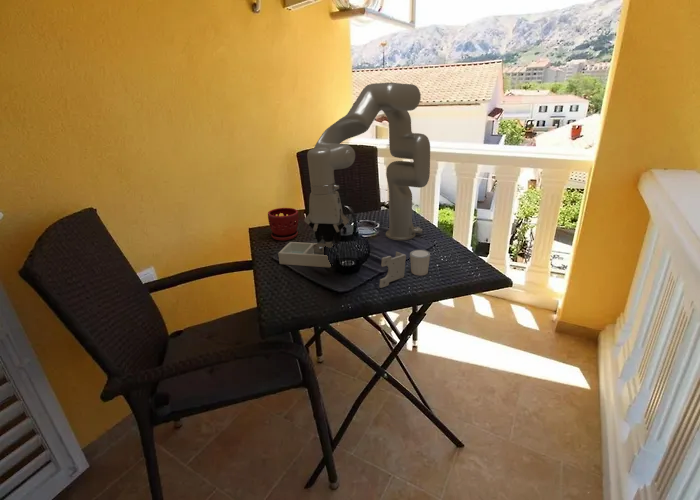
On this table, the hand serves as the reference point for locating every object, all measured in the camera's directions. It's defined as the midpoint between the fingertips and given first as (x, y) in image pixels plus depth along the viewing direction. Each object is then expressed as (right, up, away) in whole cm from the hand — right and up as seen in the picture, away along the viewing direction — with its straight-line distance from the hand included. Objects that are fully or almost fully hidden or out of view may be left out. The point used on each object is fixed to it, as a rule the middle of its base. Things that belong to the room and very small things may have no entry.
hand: (328, 240), depth 125 cm
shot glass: (+31, -11, +4) cm, 33 cm away
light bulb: (0, -3, +1) cm, 3 cm away
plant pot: (-21, +3, +42) cm, 47 cm away
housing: (-8, -7, +18) cm, 21 cm away
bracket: (+20, -13, 0) cm, 24 cm away
